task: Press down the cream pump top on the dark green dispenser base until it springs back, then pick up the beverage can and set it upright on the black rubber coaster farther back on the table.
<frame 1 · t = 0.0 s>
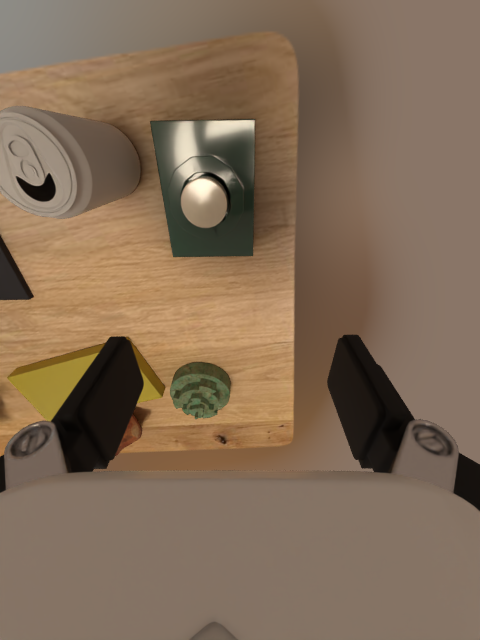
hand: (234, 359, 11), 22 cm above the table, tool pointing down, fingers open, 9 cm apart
beverage can: (112, 161, 26), on the table
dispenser: (211, 193, 27), on the table
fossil: (123, 419, 51), on the table
pump top: (205, 202, 22), point 6 cm above the table, slide at 0.1 cm
flat olive board: (88, 378, 44), on the table
decorative artifact: (202, 381, 44), on the table
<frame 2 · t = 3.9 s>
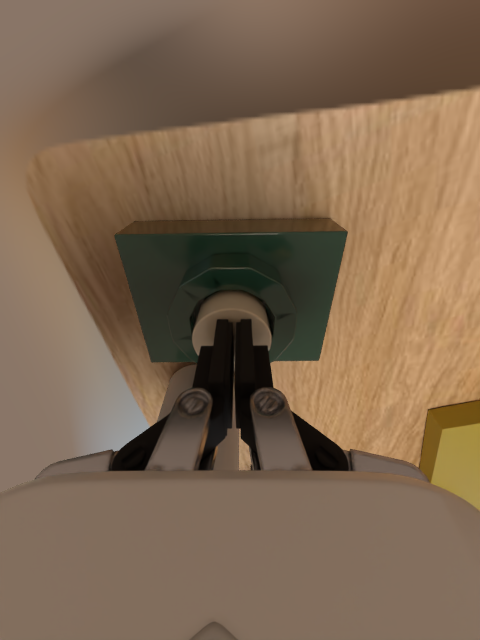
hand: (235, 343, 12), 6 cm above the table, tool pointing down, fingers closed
beverage can: (205, 381, 24), on the table
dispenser: (234, 286, 18), on the table
pump top: (232, 330, 13), point 5 cm above the table, slide at -0.2 cm, touching gripper
flat olive board: (471, 455, 31), on the table
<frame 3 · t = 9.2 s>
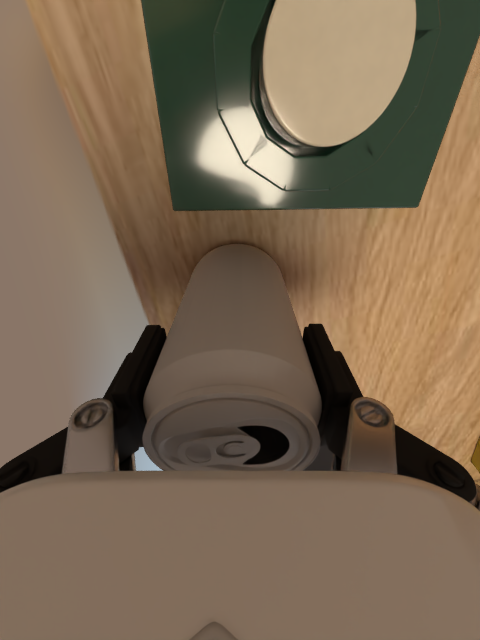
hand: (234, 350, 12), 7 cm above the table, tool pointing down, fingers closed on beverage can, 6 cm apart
beverage can: (236, 283, 18), on the table, touching gripper
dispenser: (294, 98, 12), on the table
pump top: (326, 66, 8), point 6 cm above the table, slide at 0.1 cm
coaster: (324, 444, 30), on the table
when the fingers open (8 cm above the table, at t = 16.1 s): beverage can stays where it is, resting on coaster.
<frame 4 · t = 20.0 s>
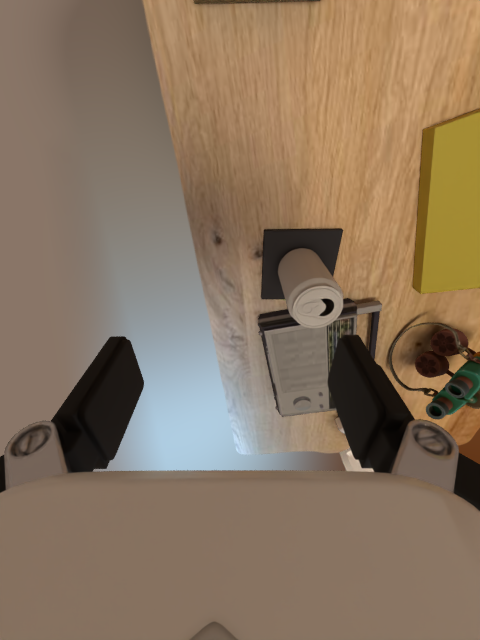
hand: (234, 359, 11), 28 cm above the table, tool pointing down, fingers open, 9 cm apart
beverage can: (298, 266, 38), point 1 cm above the table, touching coaster
binoculars: (424, 343, 48), on the table
flat olive board: (462, 215, 35), on the table
coaster: (297, 265, 39), on the table
tape dispenser: (367, 411, 59), on the table
radio: (316, 355, 49), on the table
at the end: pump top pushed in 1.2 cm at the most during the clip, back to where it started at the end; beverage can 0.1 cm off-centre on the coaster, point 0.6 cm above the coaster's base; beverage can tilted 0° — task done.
